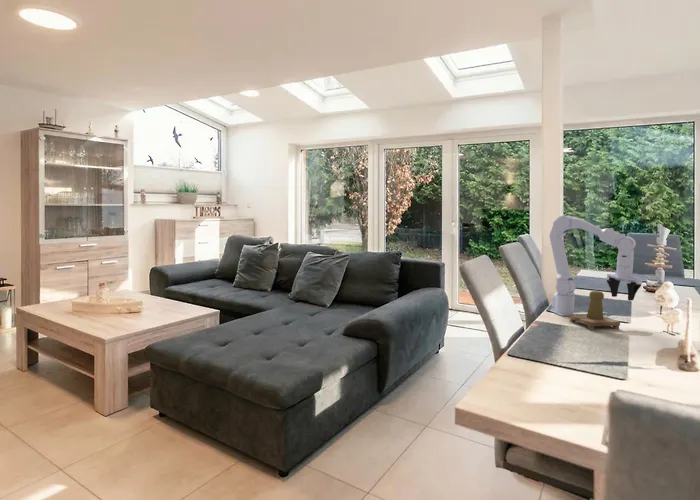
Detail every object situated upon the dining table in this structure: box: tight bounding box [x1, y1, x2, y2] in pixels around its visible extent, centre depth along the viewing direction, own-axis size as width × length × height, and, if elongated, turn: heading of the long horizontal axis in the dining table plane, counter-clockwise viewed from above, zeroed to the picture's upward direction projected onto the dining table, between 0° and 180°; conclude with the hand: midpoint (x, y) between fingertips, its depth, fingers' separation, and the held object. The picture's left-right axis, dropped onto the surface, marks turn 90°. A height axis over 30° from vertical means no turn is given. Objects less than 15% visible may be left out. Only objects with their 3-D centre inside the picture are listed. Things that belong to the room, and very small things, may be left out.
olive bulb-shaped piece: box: [586, 290, 605, 320], centre depth 183 cm, size 6×6×11 cm
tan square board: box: [569, 313, 621, 331], centre depth 183 cm, size 13×13×3 cm
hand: (622, 298), depth 186 cm, fingers open, 7 cm apart
